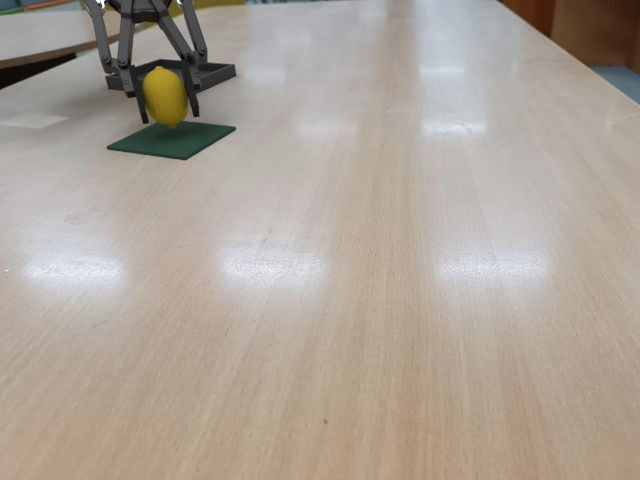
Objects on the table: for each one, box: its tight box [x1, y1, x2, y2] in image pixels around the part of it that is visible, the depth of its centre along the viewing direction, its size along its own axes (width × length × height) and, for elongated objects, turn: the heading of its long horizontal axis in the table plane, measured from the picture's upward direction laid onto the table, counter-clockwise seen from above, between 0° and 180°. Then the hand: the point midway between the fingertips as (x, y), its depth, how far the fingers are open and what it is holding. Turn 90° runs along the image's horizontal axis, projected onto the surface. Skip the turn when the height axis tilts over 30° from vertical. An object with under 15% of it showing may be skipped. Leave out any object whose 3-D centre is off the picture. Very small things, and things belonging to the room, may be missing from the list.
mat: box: [106, 120, 237, 161], centre depth 69 cm, size 12×12×1 cm
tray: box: [104, 58, 237, 96], centre depth 94 cm, size 17×15×2 cm
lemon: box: [142, 66, 190, 129], centre depth 66 cm, size 6×6×8 cm
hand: (170, 114), depth 64 cm, fingers closed on lemon, 5 cm apart
